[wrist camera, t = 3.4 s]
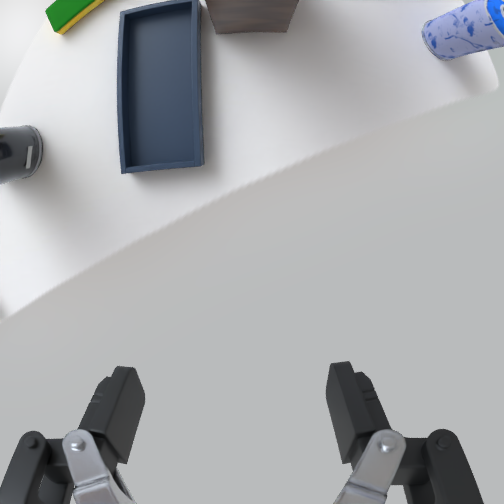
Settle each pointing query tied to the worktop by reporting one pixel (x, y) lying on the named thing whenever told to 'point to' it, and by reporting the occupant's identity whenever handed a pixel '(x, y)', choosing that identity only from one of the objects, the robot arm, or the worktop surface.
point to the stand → (251, 15)
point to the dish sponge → (69, 13)
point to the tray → (160, 87)
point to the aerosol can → (466, 30)
